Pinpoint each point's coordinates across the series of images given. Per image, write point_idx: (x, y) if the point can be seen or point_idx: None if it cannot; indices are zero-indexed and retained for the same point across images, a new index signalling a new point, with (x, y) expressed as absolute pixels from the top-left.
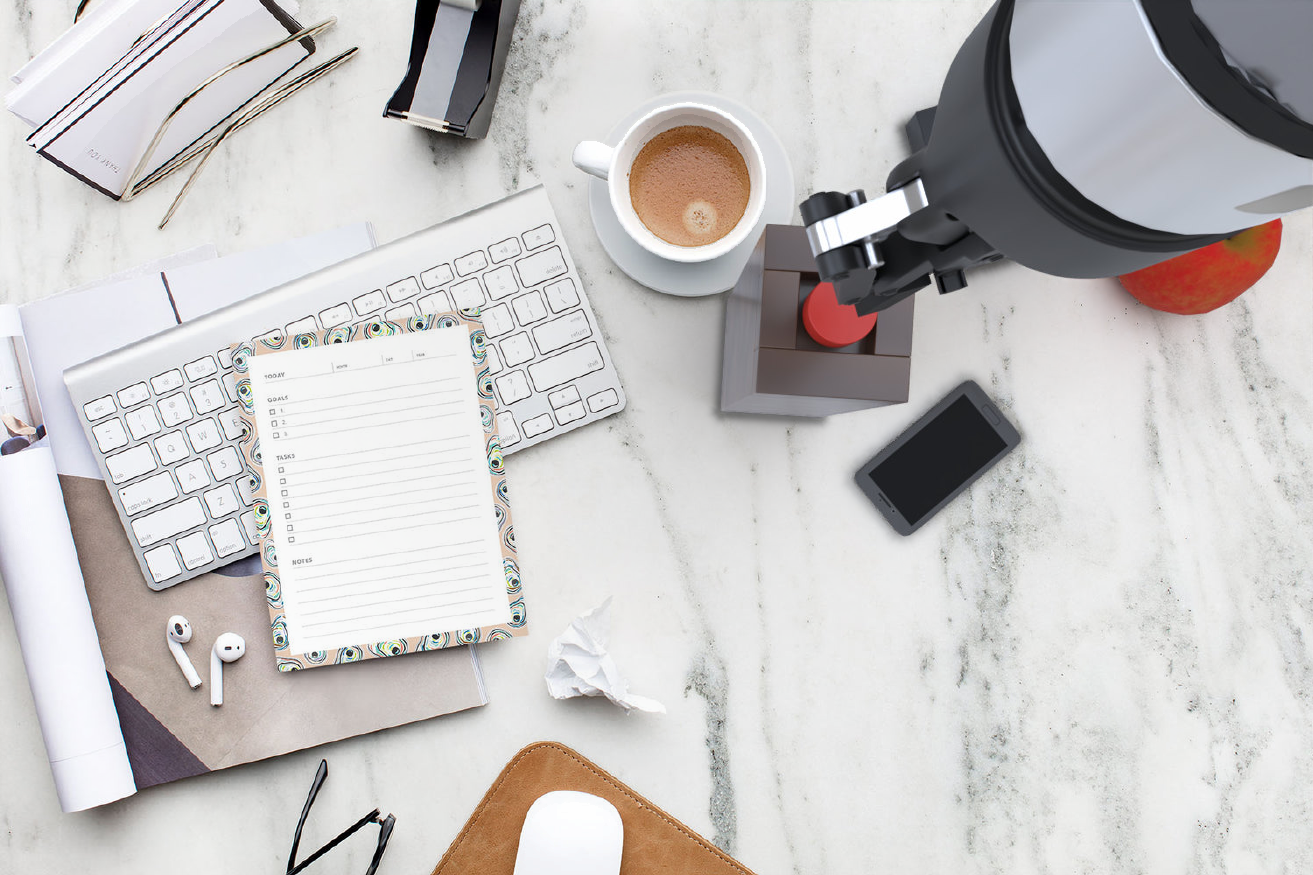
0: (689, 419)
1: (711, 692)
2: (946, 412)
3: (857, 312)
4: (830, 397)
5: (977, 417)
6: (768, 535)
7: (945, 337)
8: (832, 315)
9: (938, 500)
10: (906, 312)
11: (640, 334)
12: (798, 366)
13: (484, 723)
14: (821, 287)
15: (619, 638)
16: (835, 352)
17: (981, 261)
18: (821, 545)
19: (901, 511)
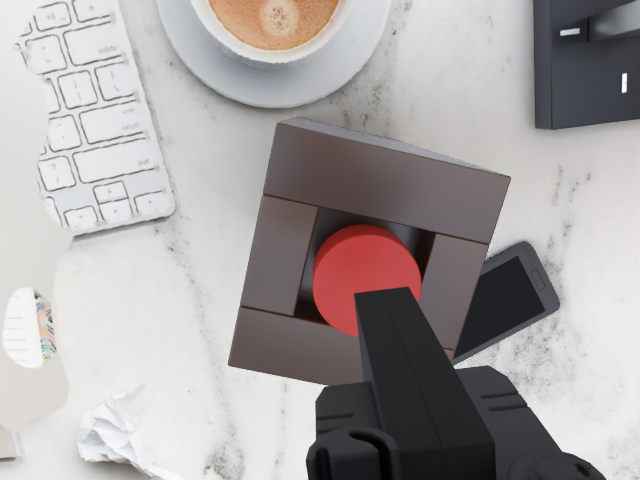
0: (238, 235)
1: (228, 473)
2: (495, 270)
3: (363, 378)
4: (331, 385)
5: (524, 280)
6: None
7: (514, 194)
8: (348, 294)
9: (466, 350)
10: (463, 290)
11: (197, 139)
12: (293, 339)
13: (19, 471)
14: (339, 251)
15: (148, 420)
16: None
17: (573, 126)
18: None
19: None
